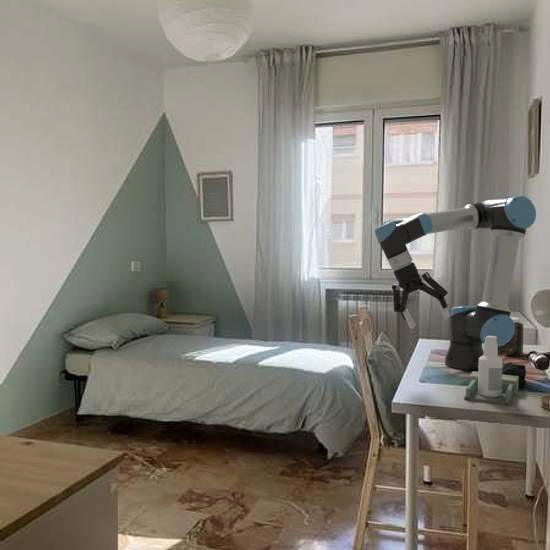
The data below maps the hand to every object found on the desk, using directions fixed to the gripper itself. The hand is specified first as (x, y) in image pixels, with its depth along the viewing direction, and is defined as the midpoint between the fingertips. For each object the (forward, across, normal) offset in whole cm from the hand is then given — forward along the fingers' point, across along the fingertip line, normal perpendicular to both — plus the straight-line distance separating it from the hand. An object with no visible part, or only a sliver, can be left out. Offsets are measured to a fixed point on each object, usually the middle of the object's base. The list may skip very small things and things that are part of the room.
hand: (430, 322), depth 185 cm
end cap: (+31, +13, +9) cm, 34 cm away
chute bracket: (+26, +13, -7) cm, 29 cm away
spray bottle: (+25, +14, -10) cm, 30 cm away
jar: (+37, -8, +60) cm, 71 cm away
